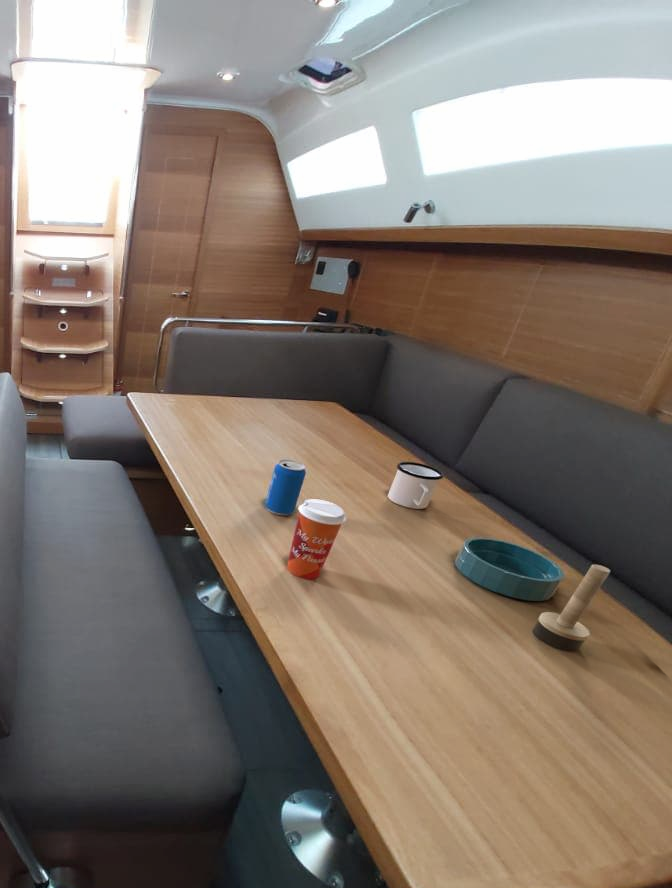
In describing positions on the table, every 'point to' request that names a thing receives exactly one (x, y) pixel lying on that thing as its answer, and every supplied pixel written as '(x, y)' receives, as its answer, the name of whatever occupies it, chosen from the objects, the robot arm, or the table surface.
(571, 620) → the wooden peg on disc
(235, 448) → the table surface
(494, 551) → the bowl
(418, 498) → the mug
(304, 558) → the paper cup
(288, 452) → the table surface
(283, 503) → the beverage can
